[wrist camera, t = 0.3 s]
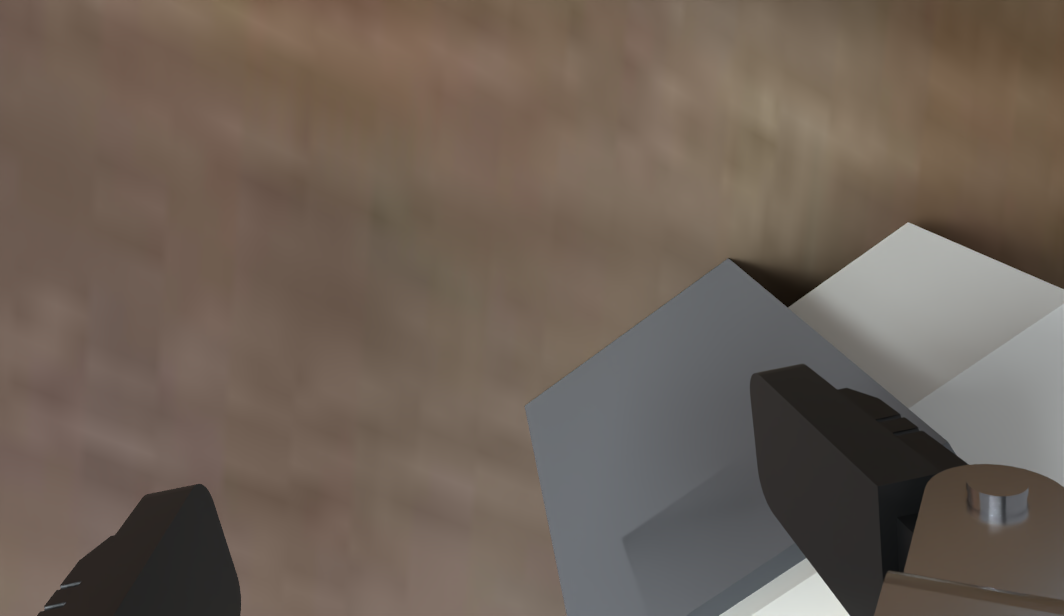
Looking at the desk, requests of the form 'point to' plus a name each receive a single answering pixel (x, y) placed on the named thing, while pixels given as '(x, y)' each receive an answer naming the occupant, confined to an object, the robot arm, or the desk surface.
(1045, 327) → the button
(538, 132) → the desk surface
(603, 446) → the button panel
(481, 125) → the desk surface
